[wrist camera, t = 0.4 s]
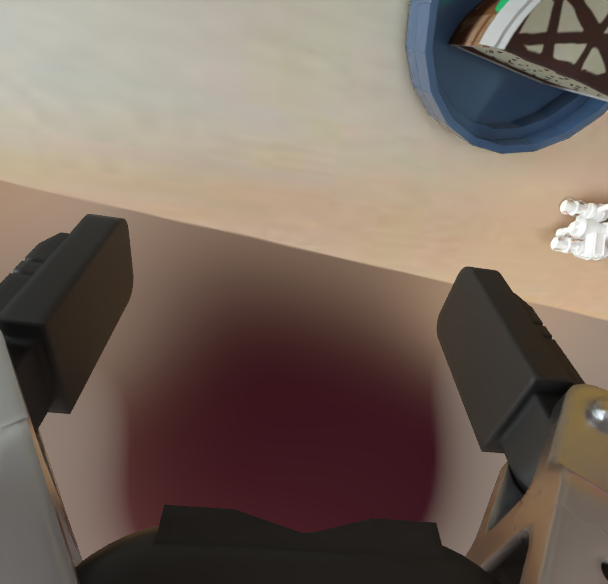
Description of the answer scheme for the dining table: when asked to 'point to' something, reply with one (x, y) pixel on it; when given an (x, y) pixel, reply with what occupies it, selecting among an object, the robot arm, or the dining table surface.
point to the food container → (542, 41)
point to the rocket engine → (584, 231)
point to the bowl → (486, 88)
